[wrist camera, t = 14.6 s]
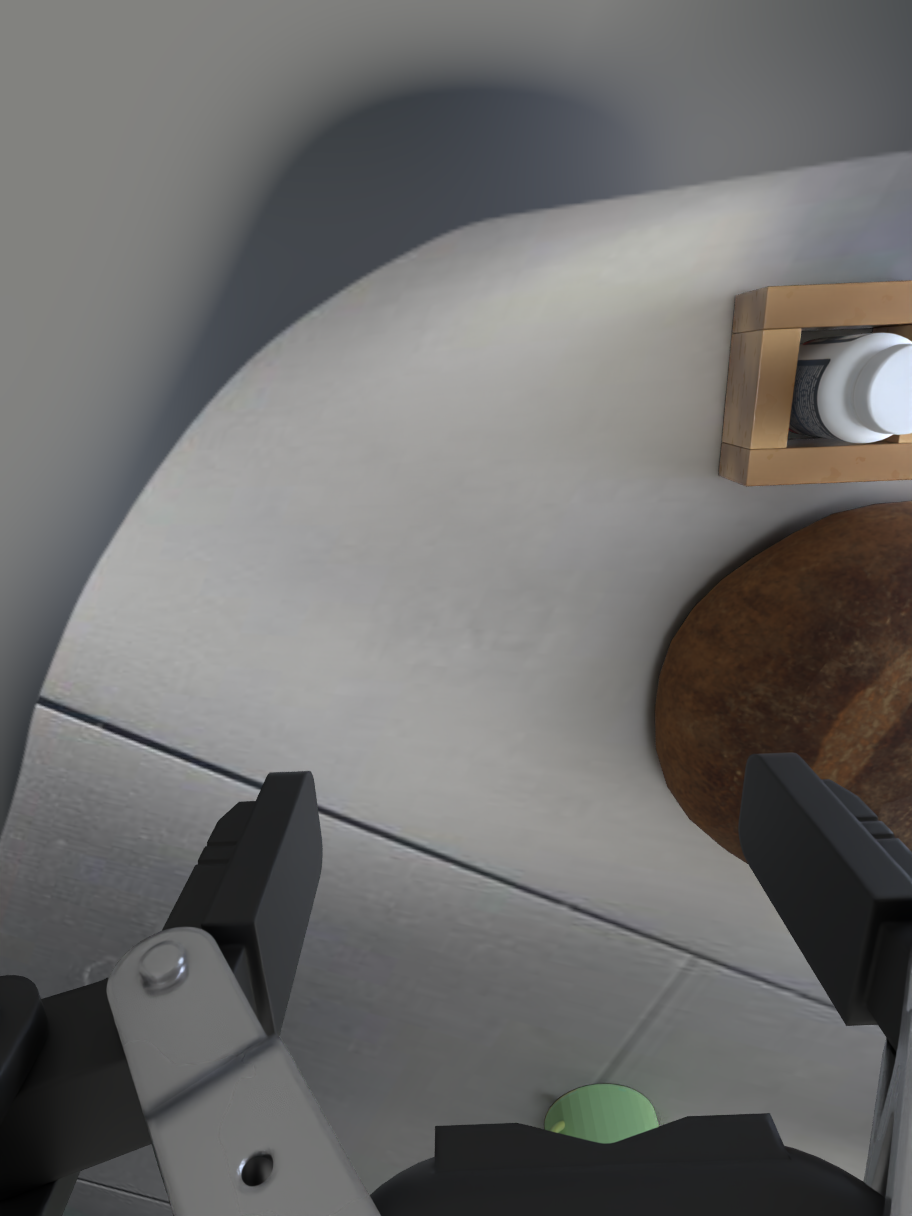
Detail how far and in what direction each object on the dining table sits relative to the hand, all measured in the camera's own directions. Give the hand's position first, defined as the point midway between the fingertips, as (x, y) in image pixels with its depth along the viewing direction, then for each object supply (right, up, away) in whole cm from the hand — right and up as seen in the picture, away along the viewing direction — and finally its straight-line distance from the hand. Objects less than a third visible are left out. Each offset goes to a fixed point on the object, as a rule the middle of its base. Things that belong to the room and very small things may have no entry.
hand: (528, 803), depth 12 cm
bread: (+26, -2, +33) cm, 42 cm away
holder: (+19, +17, +26) cm, 37 cm away
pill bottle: (+19, +17, +26) cm, 37 cm away
